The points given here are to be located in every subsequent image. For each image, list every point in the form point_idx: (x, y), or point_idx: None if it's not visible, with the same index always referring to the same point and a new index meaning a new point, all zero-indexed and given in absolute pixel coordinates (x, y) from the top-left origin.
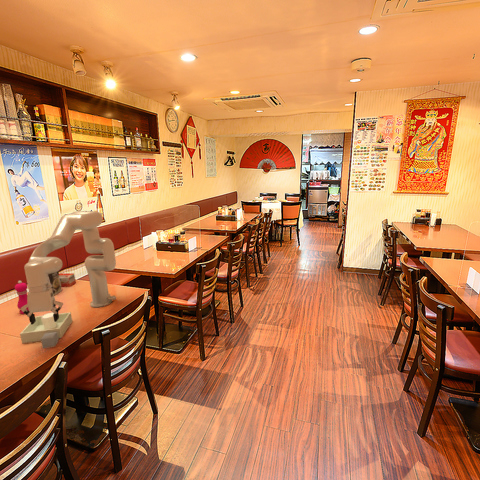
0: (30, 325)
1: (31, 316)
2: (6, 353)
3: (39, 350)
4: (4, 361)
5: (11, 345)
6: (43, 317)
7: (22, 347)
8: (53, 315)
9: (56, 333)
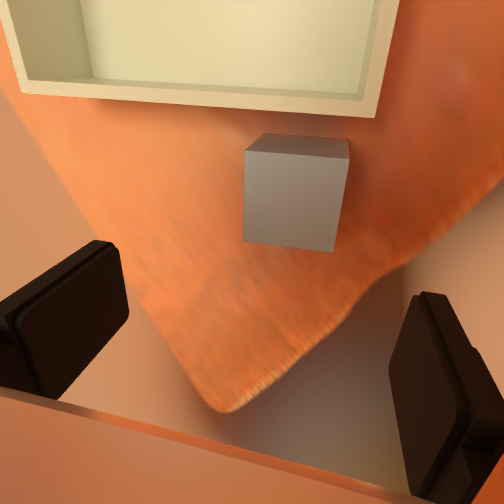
0: None
1: (39, 391)
2: (72, 184)
3: None
4: None
5: None
6: None
7: (123, 146)
8: (413, 477)
9: (348, 166)
